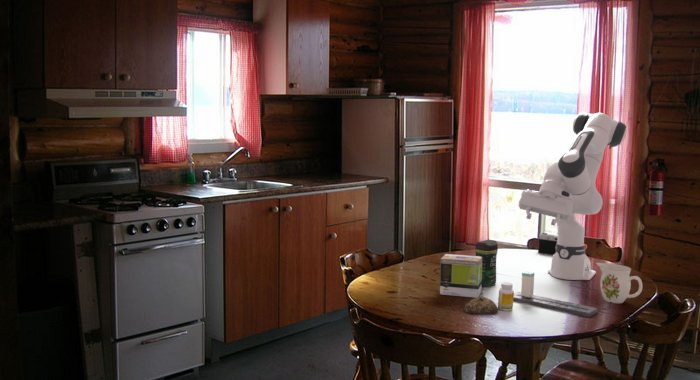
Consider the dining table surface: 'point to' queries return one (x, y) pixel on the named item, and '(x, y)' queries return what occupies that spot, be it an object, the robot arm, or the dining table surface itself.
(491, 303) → the bread roll
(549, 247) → the camera
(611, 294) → the pitcher
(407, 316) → the dining table surface
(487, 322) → the dining table surface
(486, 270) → the coffee jar
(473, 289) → the tea box
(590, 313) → the fader track
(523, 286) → the fader knob
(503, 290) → the supplement bottle
